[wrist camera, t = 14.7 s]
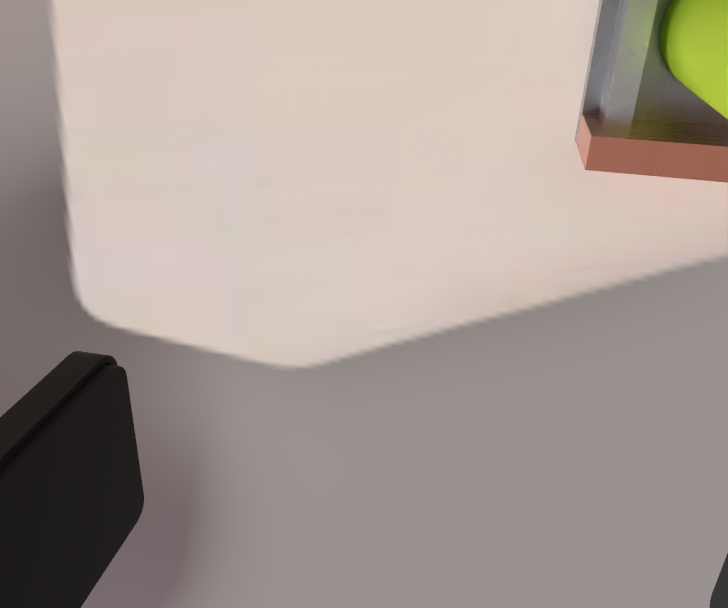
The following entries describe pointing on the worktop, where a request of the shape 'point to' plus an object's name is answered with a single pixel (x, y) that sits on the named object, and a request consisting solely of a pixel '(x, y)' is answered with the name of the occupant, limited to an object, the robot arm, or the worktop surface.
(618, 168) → the grey slotted bracket
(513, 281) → the worktop surface
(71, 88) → the worktop surface
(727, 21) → the soap dispenser
